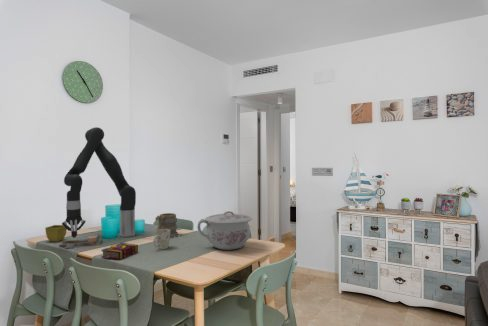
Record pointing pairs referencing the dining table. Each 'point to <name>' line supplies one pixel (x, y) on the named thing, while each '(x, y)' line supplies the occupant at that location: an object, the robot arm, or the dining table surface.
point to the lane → (99, 239)
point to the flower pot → (55, 233)
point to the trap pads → (73, 246)
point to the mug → (162, 238)
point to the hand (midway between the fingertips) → (74, 237)
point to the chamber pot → (227, 230)
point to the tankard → (168, 223)
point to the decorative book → (120, 251)
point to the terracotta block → (92, 239)
